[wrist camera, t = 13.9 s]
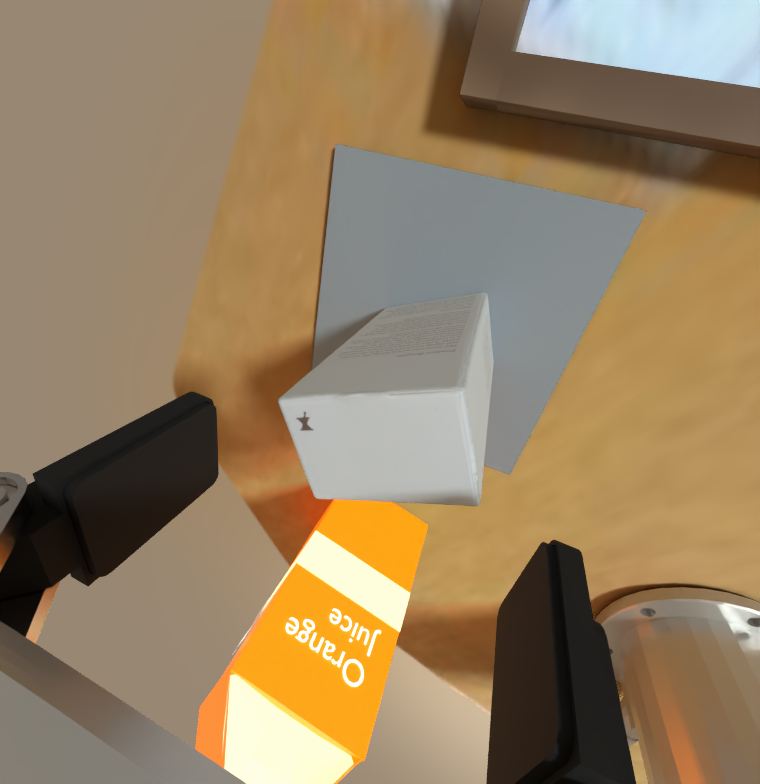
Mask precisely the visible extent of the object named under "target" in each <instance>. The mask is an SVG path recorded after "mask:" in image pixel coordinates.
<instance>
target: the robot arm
mask: <svg viewBox="0 0 760 784" xmlns="http://www.w3.org/2000/svg"><path fill="white" fill-rule="evenodd" d="M33 476H34V479H35V481H34V482H32V483H31V484H29V485H28V484H27V482H26V479H25V478H23V477H22V476H20V475H18V474H14V473H10V472H0V784H247V783H245V782H244V781H242V780H241V779H239V778H238V777H236V776H235V775H233V774H232V773H230V772H229V771H227V770H226V769H224V768H223V767H221V766H220V765H218V764H217V763H215V762H214V761H212V760H211V759H209V758H208V757H206V756H205V755H203V754H202V753H200V752H199V751H197V750H196V749H194V748H192V747H191V746H190V745H188V744H187V743H185V742H184V741H182V740H180V739H179V738H178V737H176V736H175V735H173V734H171V733H170V732H169V731H167V730H166V729H164V728H163V727H161V726H160V725H158V724H156V723H155V722H153V721H152V720H150V719H149V718H147V717H146V716H144V715H143V714H141V713H140V712H138V711H137V710H135V709H134V708H132V707H130V706H129V705H128V704H126V703H125V702H123V701H122V700H120V699H119V698H117V697H116V696H114V695H113V694H111V693H110V692H108V691H107V690H105V689H104V688H102V687H100V686H99V685H98V684H96V683H94V682H93V681H91V680H90V679H88V678H87V677H85V676H84V675H82V674H81V673H79V672H78V671H76V670H75V669H73V668H72V667H70V666H69V665H67V664H65V663H64V662H62V661H61V660H59V659H58V658H56V657H54V656H53V655H52V654H50V653H49V652H47V651H46V650H44V649H43V648H41V647H40V646H38V645H36V642H37V639H38V637H39V634H40V632H41V629H42V627H43V624H44V622H45V619H46V616H47V614H48V611H49V609H50V606H51V603H52V601H53V598H54V596H55V593H56V590H57V588H58V585H59V583H60V581H61V580H62V579H63V578H64V577H66V576H67V575H68V574H69V573H70V574H71V576H72V577H73V578H75V579H76V580H78V581H80V582H81V583H83V584H85V585H87V586H89V585H90V584H92V583H93V582H94V581H95V580H96V579H97V578H99V577H103V576H106V575H108V574H109V573H111V572H112V571H113V570H114V569H115V568H117V567H118V566H119V565H120V564H121V563H122V562H124V561H125V560H126V559H127V558H128V557H129V556H130V555H132V554H133V553H134V552H135V551H136V550H137V549H139V548H140V547H141V546H142V545H143V544H144V543H146V542H147V541H148V540H149V539H150V538H151V537H153V536H154V535H155V534H156V533H157V532H158V531H160V530H161V529H162V528H163V527H164V526H165V525H167V524H168V523H169V522H170V521H171V520H172V519H173V518H175V517H176V516H177V515H178V514H179V513H181V512H182V511H183V510H184V509H185V508H186V507H188V506H189V505H190V504H191V503H192V502H193V501H195V500H196V499H197V498H198V497H199V496H200V495H201V494H203V493H204V492H205V491H206V490H207V489H208V488H210V487H211V486H212V485H213V484H214V483H215V481H216V479H217V477H218V444H217V415H216V407H215V406H214V404H213V401H212V400H211V399H210V398H208V397H205V396H203V395H200V394H198V393H195V392H189V393H186V394H185V395H183V396H181V397H179V398H177V399H175V400H173V401H171V402H169V403H167V404H166V405H163V406H162V407H160V408H158V409H156V410H154V411H152V412H150V413H148V414H146V415H144V416H142V417H141V418H139V419H137V420H135V421H133V422H131V423H129V424H127V425H125V426H123V427H121V428H119V429H117V430H116V431H114V432H112V433H110V434H108V435H106V436H104V437H102V438H100V439H99V440H97V441H95V442H93V443H91V444H89V445H87V446H85V447H83V448H81V449H79V450H77V451H75V452H73V453H72V454H70V455H68V456H66V457H64V458H62V459H60V460H58V461H56V462H54V463H52V464H50V465H49V466H47V467H45V468H43V469H41V470H39V471H37V472H35V473H33ZM616 680H617V681H618V682H619V683H620V684H621V687H622V691H623V696H624V697H623V698H622V700H621V701H620V700H619V695H618V690H617V685H616ZM489 739H490V740H489V753H488V769H487V784H636V781H635V776H634V770H633V765H632V760H631V755H630V750H629V746H631V745H632V744H634V743H636V742H637V741H639V745H640V749H641V754H642V758H643V762H644V767H645V771H646V775H647V780H648V784H760V603H759V602H757V601H754V600H752V599H748V598H745V597H741V596H738V595H734V594H731V593H727V592H721V591H715V590H710V589H702V588H687V587H674V588H658V589H652V590H645V591H640V592H637V593H634V594H630V595H627V596H624V597H622V598H620V599H618V600H616V601H614V602H612V603H611V604H609V605H608V606H607V607H606V608H605V609H603V610H602V611H601V612H600V613H599V615H598V616H597V618H596V619H595V621H594V620H593V615H592V609H591V603H590V598H589V592H588V586H587V580H586V574H585V569H584V563H583V557H582V554H581V552H580V550H578V549H576V548H573V547H571V546H569V545H566V544H564V543H561V542H559V541H556V540H552V541H551V542H550V543H549V544H547V543H545V542H542V543H541V544H540V546H539V547H538V549H537V550H536V552H535V553H534V555H533V556H532V558H531V559H530V561H529V562H528V564H527V566H526V567H525V569H524V570H523V572H522V573H521V575H520V576H519V578H518V579H517V581H516V582H515V584H514V585H513V587H512V589H511V590H510V592H509V593H508V595H507V596H506V598H505V599H504V601H503V602H502V604H501V606H500V609H499V612H498V618H497V631H496V647H495V662H494V677H493V692H492V707H491V723H490V738H489Z"/></svg>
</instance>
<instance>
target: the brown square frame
mask: <svg viewBox="0 0 760 784" xmlns="http://www.w3.org/2000/svg"><path fill="white" fill-rule="evenodd" d="M529 2H530V0H482V4H481V8H480V12H479V16H478V20H477V25H476V29H475V33H474V37H473V41H472V45H471V50H470V54H469V58H468V62H467V66H466V70H465V74H464V79H463V83H462V87H461V91H460V95H461V97H462V100H463V102H464V104H465V105H466V106H471V107H477V108H482V109H488V110H493V111H499V112H504V113H510V114H516V115H521V116H527V117H532V118H538V119H543V120H549V121H554V122H560V123H565V124H571V125H577V126H582V127H588V128H593V129H599V130H604V131H610V132H615V133H621V134H626V135H632V136H638V137H643V138H649V139H654V140H660V141H665V142H671V143H676V144H682V145H687V146H693V147H698V148H704V149H710V150H715V151H721V152H726V153H732V154H737V155H743V156H748V157H754V158H759V159H760V88H756V87H749V86H742V85H736V84H729V83H722V82H715V81H709V80H702V79H695V78H688V77H682V76H675V75H668V74H661V73H655V72H648V71H641V70H635V69H628V68H621V67H614V66H608V65H601V64H594V63H587V62H581V61H574V60H567V59H560V58H554V57H547V56H540V55H534V54H527V53H520V52H515V51H516V47H517V44H518V40H519V37H520V33H521V30H522V26H523V23H524V19H525V16H526V12H527V9H528V6H529Z"/></svg>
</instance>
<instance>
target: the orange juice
mask: <svg viewBox="0 0 760 784" xmlns="http://www.w3.org/2000/svg"><path fill="white" fill-rule="evenodd" d="M427 527H428V525H426V524H425V523H423V522H422V521H420V520H419V519H417V518H416V517H414V516H413V515H411V514H410V513H408V512H407V511H405V510H404V509H402V508H401V507H399V506H398V505H396V504H395V503H393V502H380V501H360V500H338V499H333V501H332V502H331V504H330V505H329V507H328V508H327V510H326V511H325V513H324V514H323V516H322V517H321V519H320V520H319V522H318V523H317V525H316V526H315V528H314V529H313V531H312V532H311V534H310V536H309V537H308V539H307V540H306V542H305V544H304V545H303V547H302V548H301V550H300V552H299V553H298V555H297V556H296V558H295V560H294V561H293V563H292V565H291V566H290V568H289V569H288V571H287V573H286V575H285V576H284V577H283V579H282V581H281V582H280V583H279V585H278V586H277V588H276V590H275V591H274V593H273V594H272V596H271V597H270V599H269V601H268V602H267V604H266V606H265V607H264V609H263V610H262V612H261V614H260V615H259V618H258V619H257V621H256V623H255V624H254V626H253V627H252V629H251V631H250V632H249V634H248V635H247V637H246V639H245V640H244V642H243V644H242V645H241V647H240V648H239V650H238V652H237V653H236V655H235V657H234V658H233V660H232V661H231V663H230V664H229V666H228V668H227V669H226V671H225V673H224V674H223V676H222V678H221V679H220V680H219V682H218V683H217V684H216V686H215V687H214V689H213V690H212V691H211V693H210V694H209V695H208V697H207V698H206V700H205V701H204V702H203V704H202V705H201V707H200V712H199V721H198V730H197V740H196V750H197V751H199V752H200V753H202V754H203V755H205V756H206V757H208V758H209V759H211V760H212V761H214V762H215V763H217V764H218V765H220V766H221V767H223V768H224V769H226V770H227V771H229V772H230V773H232V774H233V775H235V776H236V777H238V778H239V779H241V780H242V781H244V782H245V783H247V784H337V783H338V782H339V781H340V780H341V779H342V778H343V777H344V776H345V775H346V774H347V773H348V772H349V771H350V770H351V769H352V768H353V767H354V766H355V765H356V764H357V763H360V762H362V761H364V760H365V756H366V755H367V754H366V753H367V749H368V745H369V742H370V737H371V734H372V730H373V727H374V723H375V719H376V716H377V712H378V708H379V705H380V701H381V697H382V694H383V690H384V686H385V682H386V679H387V675H388V671H389V668H390V664H391V660H392V657H393V653H394V649H395V645H396V642H397V638H398V634H399V632H400V630H401V626H402V623H403V619H404V615H405V612H406V608H407V604H408V600H409V597H410V590H411V586H412V583H413V579H414V575H415V572H416V568H417V564H418V560H419V557H420V553H421V549H422V546H423V542H424V538H425V535H426V531H427Z"/></svg>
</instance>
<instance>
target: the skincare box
mask: <svg viewBox="0 0 760 784" xmlns="http://www.w3.org/2000/svg"><path fill="white" fill-rule="evenodd" d="M493 364H494V360H493V350H492V338H491V326H490V314H489V303H488V295H487V293H485V292H483V293H477V294H470V295H464V296H458V297H452V298H446V299H439V300H433V301H427V302H420V303H414V304H409V305H402V306H396V307H390V308H385V309H384V310H383V311H382V312H380V313H379V314H378V315H377V316H376V317H374V318H373V319H372V320H371V321H370V322H369V323H367V324H366V325H365V326H364V327H363V328H361V330H359V331H358V332H357V333H356V334H355V335H353V336H352V337H351V338H350V339H349V340H347V341H346V342H345V343H344V344H343V345H341V346H340V347H339V348H338V349H337V350H335V351H334V352H333V353H332V354H331V355H330V356H328V357H327V358H326V359H325V360H324V361H323V362H321V363H320V364H319V365H318V366H317V367H315V368H314V369H313V370H312V371H310V372H309V373H308V374H307V375H306V376H304V377H303V378H302V379H301V380H300V381H298V382H297V383H296V384H295V385H294V386H293V387H292V388H290V389H289V390H288V391H287V392H286V393H285V394H283V395H282V396H281V397H280V398H279V400H278V404H279V406H280V409H281V411H282V414H283V416H284V419H285V421H286V424H287V427H288V429H289V432H290V434H291V437H292V440H293V442H294V445H295V448H296V450H297V453H298V456H299V459H300V461H301V464H302V467H303V469H304V472H305V475H306V477H307V480H308V483H309V485H310V487H311V490H312V492H313V494H314V496H315V498H317V499H338V500H360V501H380V502H401V503H425V504H444V505H464V506H478V505H479V503H480V499H481V491H482V480H483V468H484V458H485V448H486V437H487V426H488V415H489V404H490V395H491V384H492V374H493Z"/></svg>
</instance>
